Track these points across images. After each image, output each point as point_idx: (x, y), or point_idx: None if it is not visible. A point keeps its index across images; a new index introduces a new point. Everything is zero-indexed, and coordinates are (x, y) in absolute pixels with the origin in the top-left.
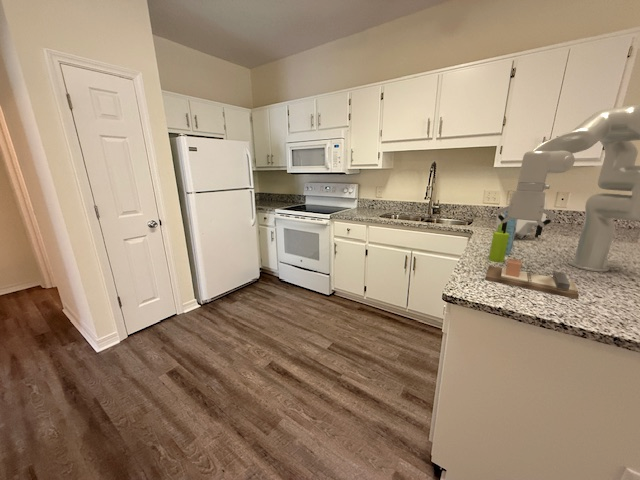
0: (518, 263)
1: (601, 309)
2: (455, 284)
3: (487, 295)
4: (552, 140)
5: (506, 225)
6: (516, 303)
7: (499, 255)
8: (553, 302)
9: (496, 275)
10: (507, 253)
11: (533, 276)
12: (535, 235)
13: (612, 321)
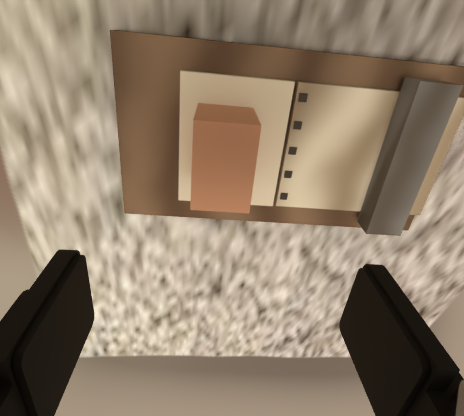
0: (238, 199)
1: (426, 261)
2: None
3: (152, 317)
4: None
5: (53, 407)
6: (221, 325)
7: None
8: (316, 278)
9: (161, 182)
10: None
11: (310, 131)
12: (349, 316)
13: None
